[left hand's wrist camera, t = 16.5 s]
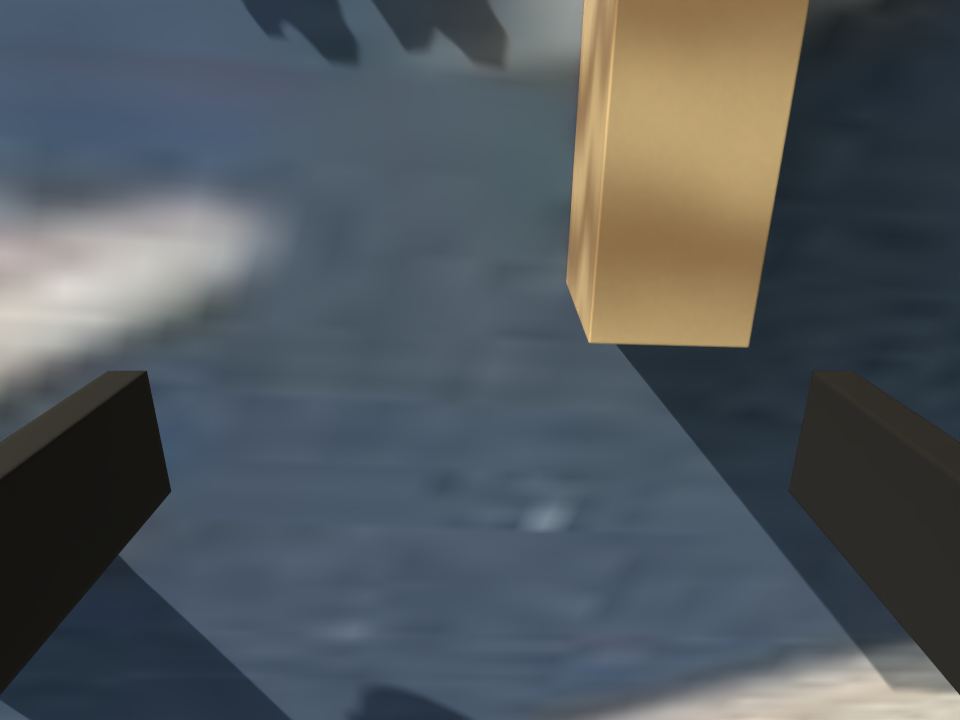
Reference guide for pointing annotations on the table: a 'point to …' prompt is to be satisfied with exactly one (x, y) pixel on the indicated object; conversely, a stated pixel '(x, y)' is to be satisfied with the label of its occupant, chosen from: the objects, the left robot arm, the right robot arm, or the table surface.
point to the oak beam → (678, 165)
